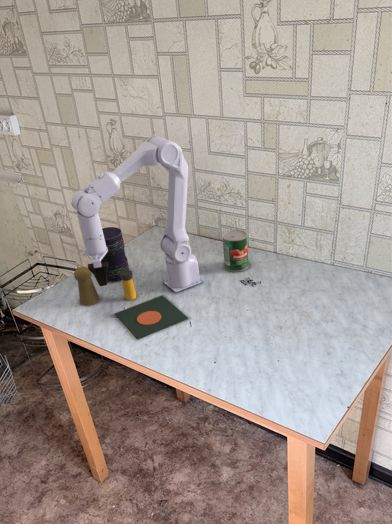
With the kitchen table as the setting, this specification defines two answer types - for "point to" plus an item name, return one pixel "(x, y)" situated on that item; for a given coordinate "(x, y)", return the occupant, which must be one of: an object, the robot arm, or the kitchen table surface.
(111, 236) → the storage jar
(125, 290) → the glue stick
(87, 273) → the olive pawn
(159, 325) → the mat
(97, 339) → the kitchen table surface
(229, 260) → the canned tomato
